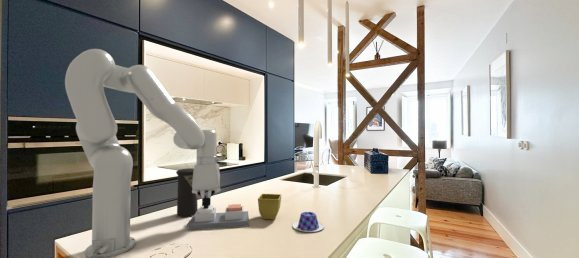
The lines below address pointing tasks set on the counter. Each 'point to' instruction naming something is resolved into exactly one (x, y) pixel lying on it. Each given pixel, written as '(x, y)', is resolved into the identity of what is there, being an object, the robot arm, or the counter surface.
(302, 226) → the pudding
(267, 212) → the flower pot
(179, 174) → the container
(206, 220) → the push button panel
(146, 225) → the counter surface
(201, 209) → the white key
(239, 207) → the brick key
